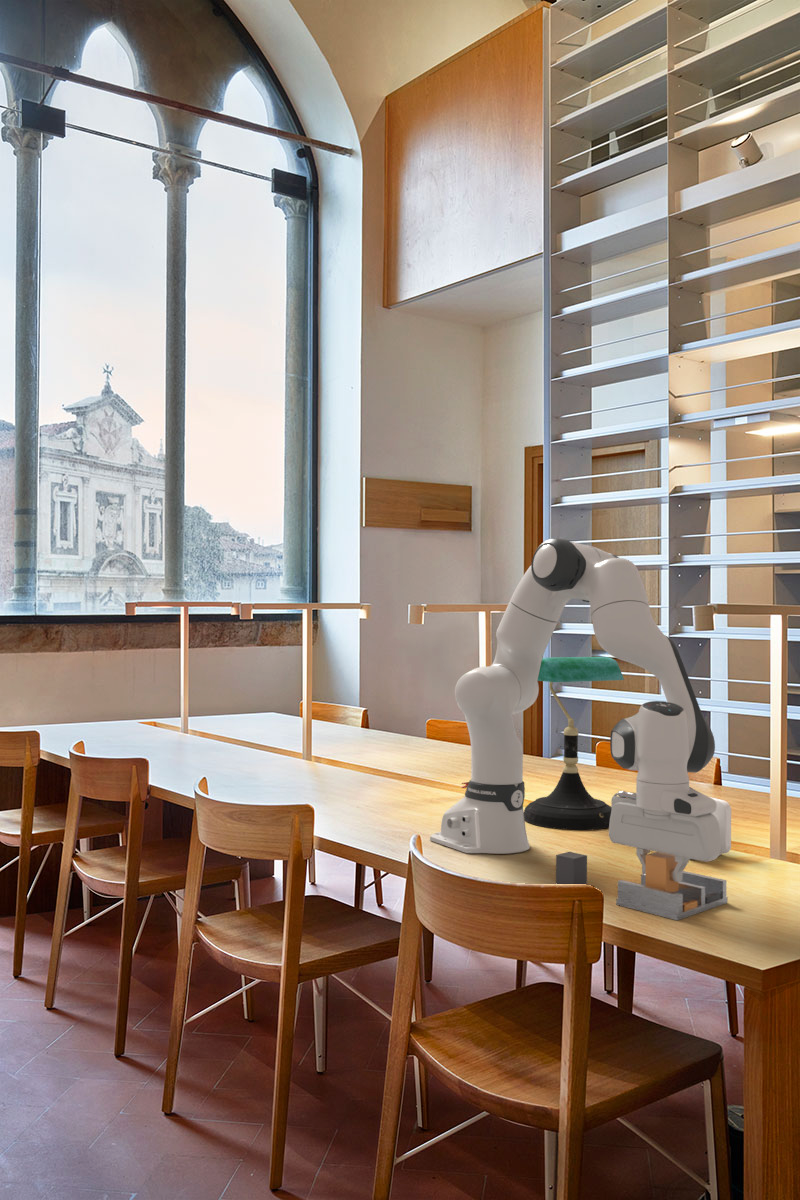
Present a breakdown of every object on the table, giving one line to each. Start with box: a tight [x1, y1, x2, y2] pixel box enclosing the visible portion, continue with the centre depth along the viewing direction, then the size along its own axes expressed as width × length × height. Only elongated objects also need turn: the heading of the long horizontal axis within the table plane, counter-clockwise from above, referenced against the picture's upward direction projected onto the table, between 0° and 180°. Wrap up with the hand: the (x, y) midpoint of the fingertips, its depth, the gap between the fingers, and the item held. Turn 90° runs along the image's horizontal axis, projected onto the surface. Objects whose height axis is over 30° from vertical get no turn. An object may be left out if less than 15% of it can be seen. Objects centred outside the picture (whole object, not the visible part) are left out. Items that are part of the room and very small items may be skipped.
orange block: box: [645, 851, 679, 892], centre depth 175 cm, size 4×4×6 cm
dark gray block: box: [555, 851, 588, 885], centre depth 187 cm, size 4×4×6 cm
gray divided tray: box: [615, 870, 729, 921], centre depth 178 cm, size 12×16×4 cm
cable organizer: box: [689, 796, 732, 860], centre depth 217 cm, size 15×11×12 cm
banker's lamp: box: [523, 656, 625, 831], centre depth 250 cm, size 26×23×40 cm
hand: (662, 877), depth 175 cm, fingers closed on orange block, 4 cm apart
